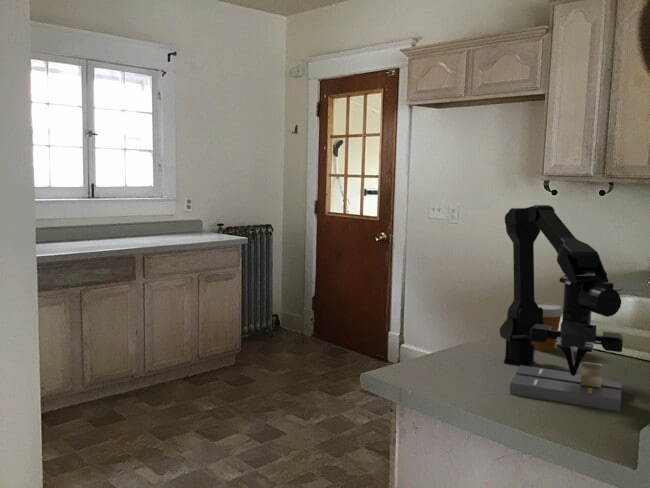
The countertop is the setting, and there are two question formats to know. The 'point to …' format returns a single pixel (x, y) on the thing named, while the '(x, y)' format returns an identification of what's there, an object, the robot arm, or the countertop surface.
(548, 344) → the disposable coffee cup
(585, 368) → the fader knob
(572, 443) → the countertop surface
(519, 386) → the fader console
